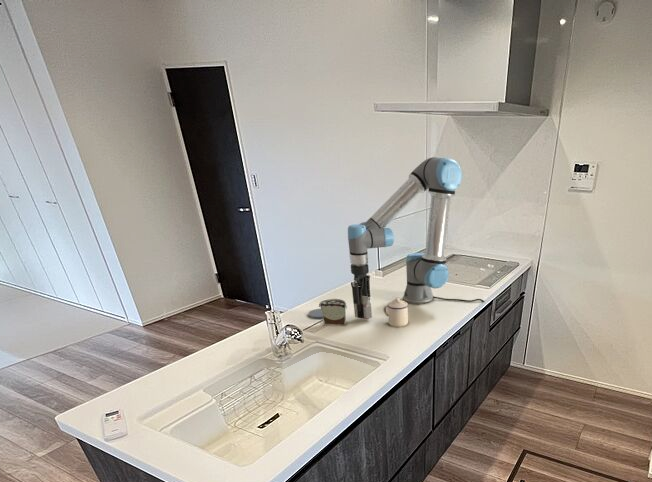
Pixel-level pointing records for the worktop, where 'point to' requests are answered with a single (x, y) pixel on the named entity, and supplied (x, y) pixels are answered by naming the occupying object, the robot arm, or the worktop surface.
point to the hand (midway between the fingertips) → (363, 315)
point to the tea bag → (364, 308)
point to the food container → (333, 311)
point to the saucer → (316, 314)
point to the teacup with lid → (397, 312)
